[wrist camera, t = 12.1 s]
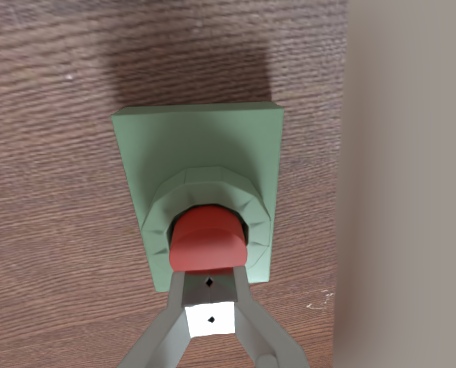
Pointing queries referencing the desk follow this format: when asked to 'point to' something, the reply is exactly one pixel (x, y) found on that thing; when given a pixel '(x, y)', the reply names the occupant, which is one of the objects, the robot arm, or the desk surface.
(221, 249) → the button
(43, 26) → the desk surface
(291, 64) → the desk surface
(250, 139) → the box
